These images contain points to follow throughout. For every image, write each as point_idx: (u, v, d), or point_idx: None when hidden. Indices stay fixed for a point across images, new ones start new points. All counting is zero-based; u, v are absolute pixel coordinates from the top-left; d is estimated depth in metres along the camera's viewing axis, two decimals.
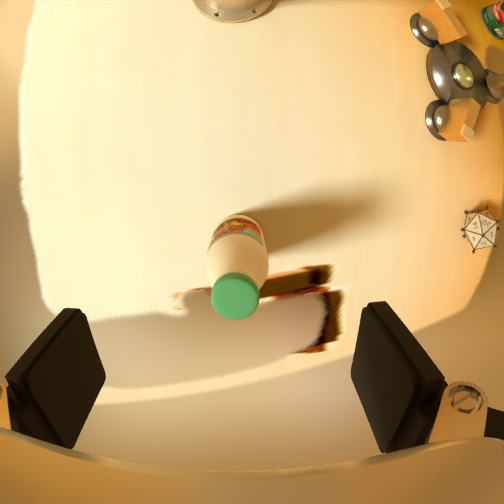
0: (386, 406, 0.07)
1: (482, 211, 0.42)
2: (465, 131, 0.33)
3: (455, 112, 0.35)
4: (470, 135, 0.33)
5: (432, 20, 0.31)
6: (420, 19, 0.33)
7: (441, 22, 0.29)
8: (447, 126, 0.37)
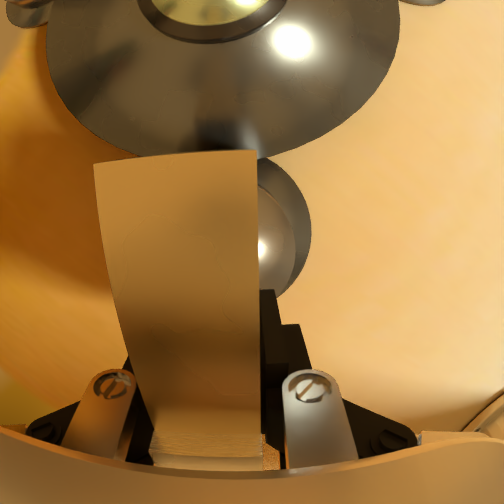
0: None
1: None
2: None
3: None
4: None
5: None
6: None
7: None
8: None
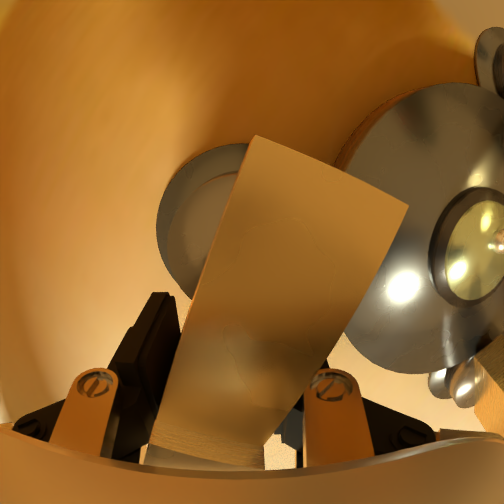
0: None
1: None
2: None
3: (496, 414, 0.11)
4: None
5: None
6: None
7: None
8: (486, 422, 0.12)
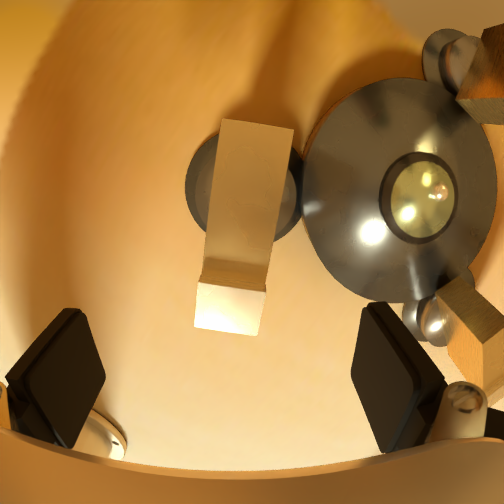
0: (386, 406, 0.07)
1: None
2: (490, 402, 0.13)
3: (460, 345, 0.16)
4: (503, 391, 0.13)
5: None
6: None
7: None
8: (457, 359, 0.17)
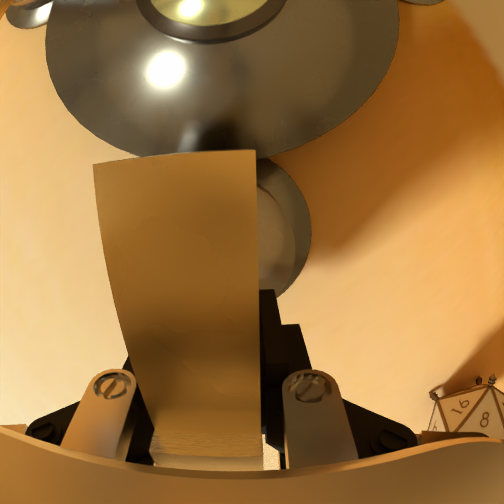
0: None
1: (469, 418, 0.12)
2: None
3: None
4: None
5: None
6: None
7: None
8: None
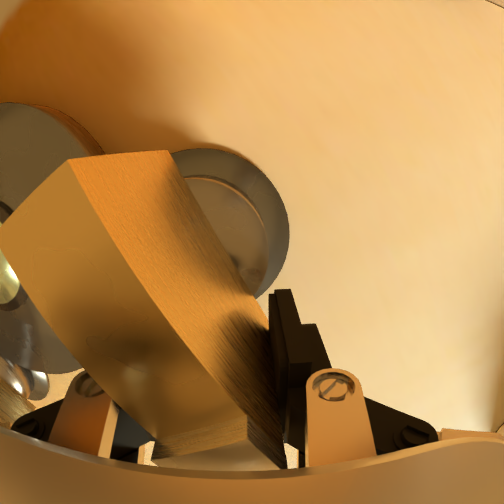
0: None
1: None
2: None
3: None
4: (243, 468, 0.05)
5: None
6: (21, 387, 0.13)
7: None
8: None
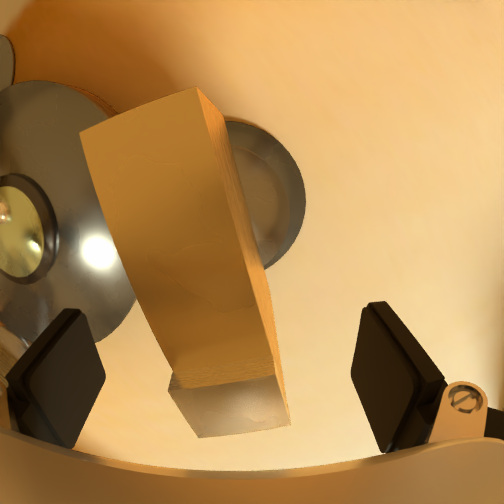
0: (386, 406, 0.07)
1: None
2: (203, 420, 0.06)
3: None
4: (255, 409, 0.06)
5: (6, 381, 0.12)
6: None
7: None
8: None
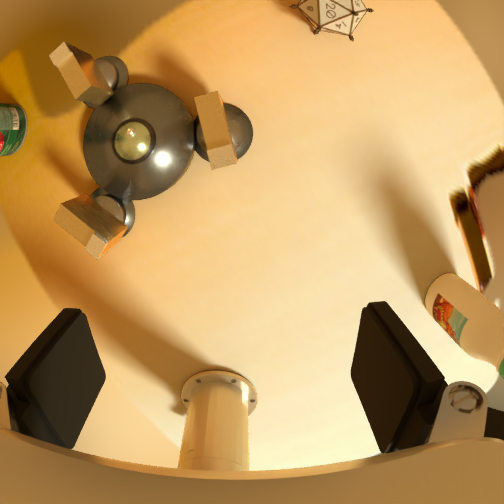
0: (386, 406, 0.07)
1: (310, 17, 0.25)
2: (214, 161, 0.26)
3: None
4: (227, 156, 0.26)
5: (105, 218, 0.32)
6: (121, 216, 0.34)
7: (93, 217, 0.30)
8: None
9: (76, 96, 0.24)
